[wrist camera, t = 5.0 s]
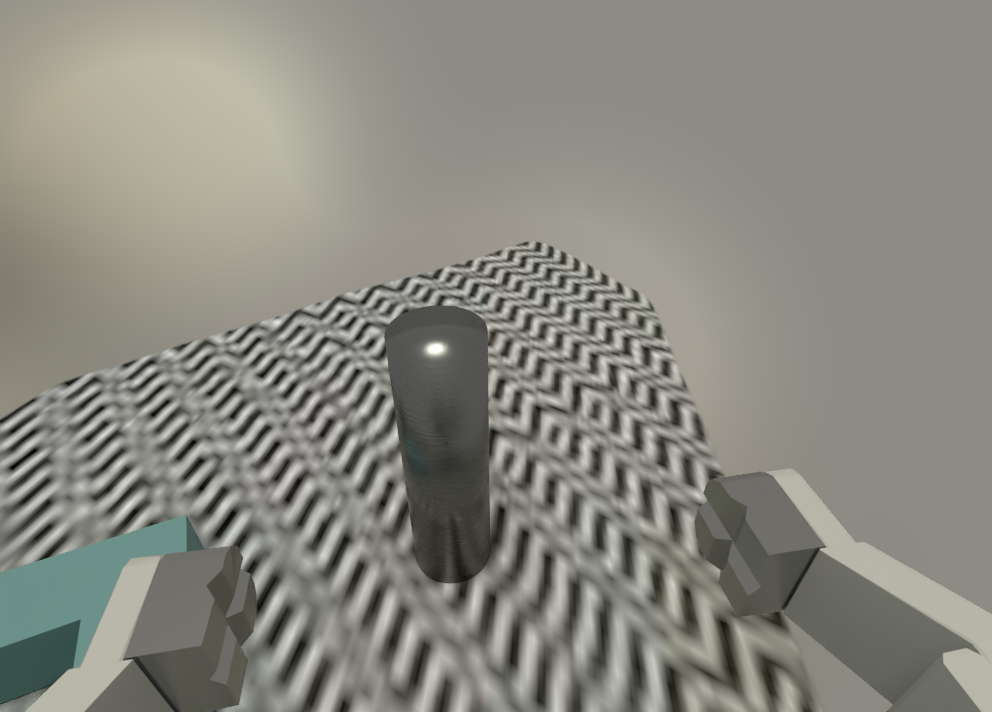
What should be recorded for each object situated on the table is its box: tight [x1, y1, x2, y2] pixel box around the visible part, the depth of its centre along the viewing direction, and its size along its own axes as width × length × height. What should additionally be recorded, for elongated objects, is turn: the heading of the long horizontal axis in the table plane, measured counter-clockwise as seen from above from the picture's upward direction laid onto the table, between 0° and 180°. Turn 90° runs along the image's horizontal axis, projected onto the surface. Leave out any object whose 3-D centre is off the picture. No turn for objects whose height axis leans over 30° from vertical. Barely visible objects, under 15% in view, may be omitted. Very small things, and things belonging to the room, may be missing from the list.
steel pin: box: [384, 306, 490, 583], centre depth 25 cm, size 4×4×14 cm
